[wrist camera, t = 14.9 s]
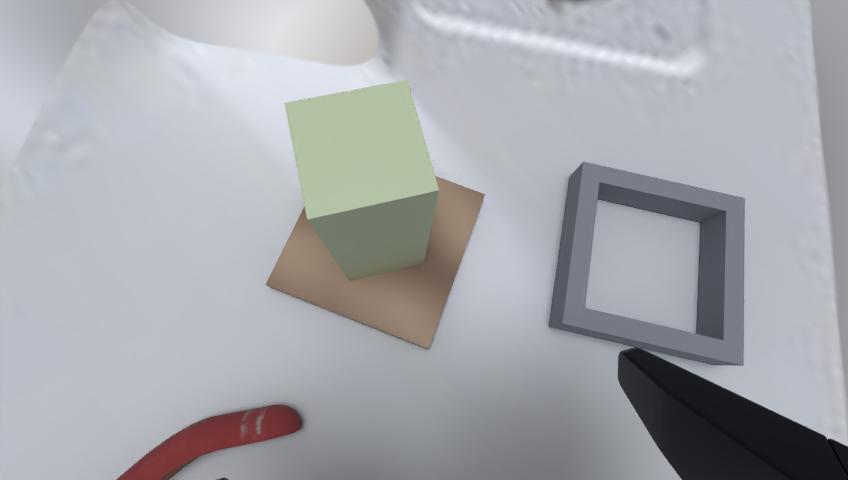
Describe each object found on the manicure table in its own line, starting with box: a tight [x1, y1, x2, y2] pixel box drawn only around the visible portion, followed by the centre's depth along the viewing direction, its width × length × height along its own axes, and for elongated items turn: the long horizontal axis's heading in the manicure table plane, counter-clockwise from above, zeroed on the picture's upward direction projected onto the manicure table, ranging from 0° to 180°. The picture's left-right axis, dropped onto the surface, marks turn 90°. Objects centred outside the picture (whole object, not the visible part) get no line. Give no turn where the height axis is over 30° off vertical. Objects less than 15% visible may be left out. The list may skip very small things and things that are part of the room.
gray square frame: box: [549, 162, 745, 366], centre depth 23 cm, size 9×9×2 cm
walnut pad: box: [266, 176, 485, 349], centre depth 23 cm, size 9×9×1 cm
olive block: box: [285, 80, 439, 281], centre depth 18 cm, size 4×4×10 cm
